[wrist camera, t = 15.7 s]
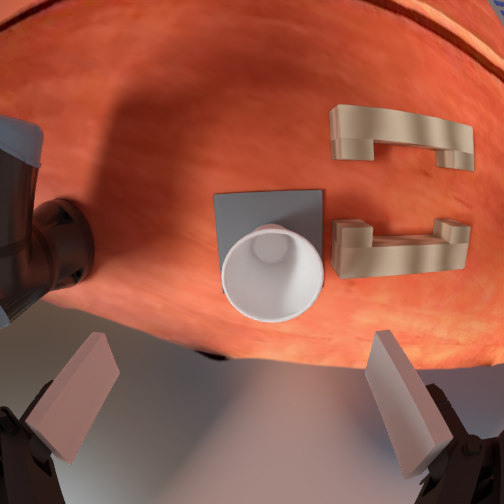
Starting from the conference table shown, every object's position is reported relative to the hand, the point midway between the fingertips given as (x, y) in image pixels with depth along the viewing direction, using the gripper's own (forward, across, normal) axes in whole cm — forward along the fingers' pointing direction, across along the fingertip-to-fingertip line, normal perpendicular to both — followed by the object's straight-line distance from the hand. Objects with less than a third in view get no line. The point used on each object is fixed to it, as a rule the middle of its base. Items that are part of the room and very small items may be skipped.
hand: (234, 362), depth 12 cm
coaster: (+26, +2, -2) cm, 26 cm away
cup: (+26, +2, -2) cm, 26 cm away
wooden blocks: (+26, +21, +5) cm, 34 cm away
